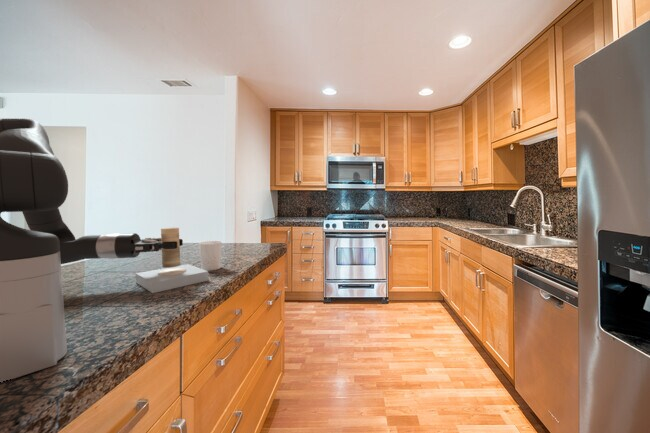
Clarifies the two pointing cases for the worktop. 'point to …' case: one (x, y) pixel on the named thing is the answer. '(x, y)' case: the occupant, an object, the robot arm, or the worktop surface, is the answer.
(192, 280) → the light grey plinth
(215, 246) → the white cup
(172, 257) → the maple pillar
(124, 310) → the worktop surface
